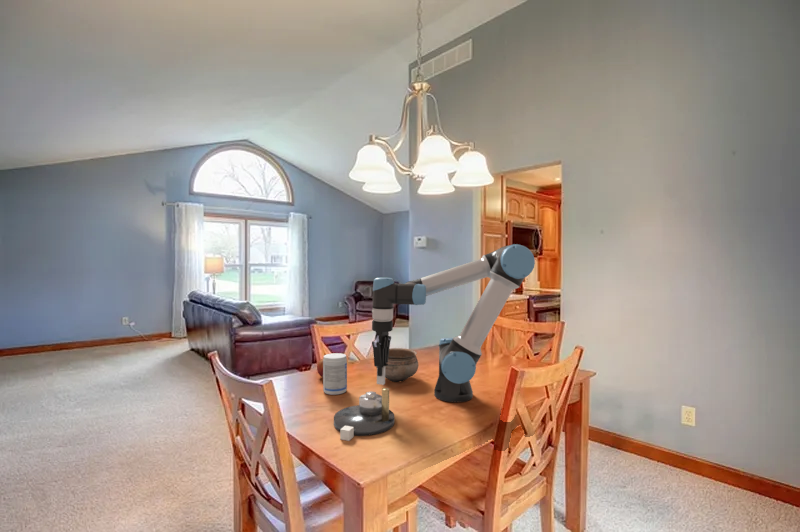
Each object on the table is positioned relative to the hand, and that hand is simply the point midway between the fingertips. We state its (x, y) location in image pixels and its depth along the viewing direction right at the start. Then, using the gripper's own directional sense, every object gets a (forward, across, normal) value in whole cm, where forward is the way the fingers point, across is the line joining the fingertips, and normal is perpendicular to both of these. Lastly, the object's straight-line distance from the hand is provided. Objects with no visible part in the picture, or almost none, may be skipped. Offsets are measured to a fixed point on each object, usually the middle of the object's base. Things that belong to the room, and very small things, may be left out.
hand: (380, 383), depth 146 cm
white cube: (+9, +27, 0) cm, 28 cm away
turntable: (+9, +15, 0) cm, 17 cm away
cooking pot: (+9, -32, -6) cm, 34 cm away
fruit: (+9, -23, -35) cm, 43 cm away
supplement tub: (+9, -8, -23) cm, 26 cm away
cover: (+6, +10, 0) cm, 12 cm away
